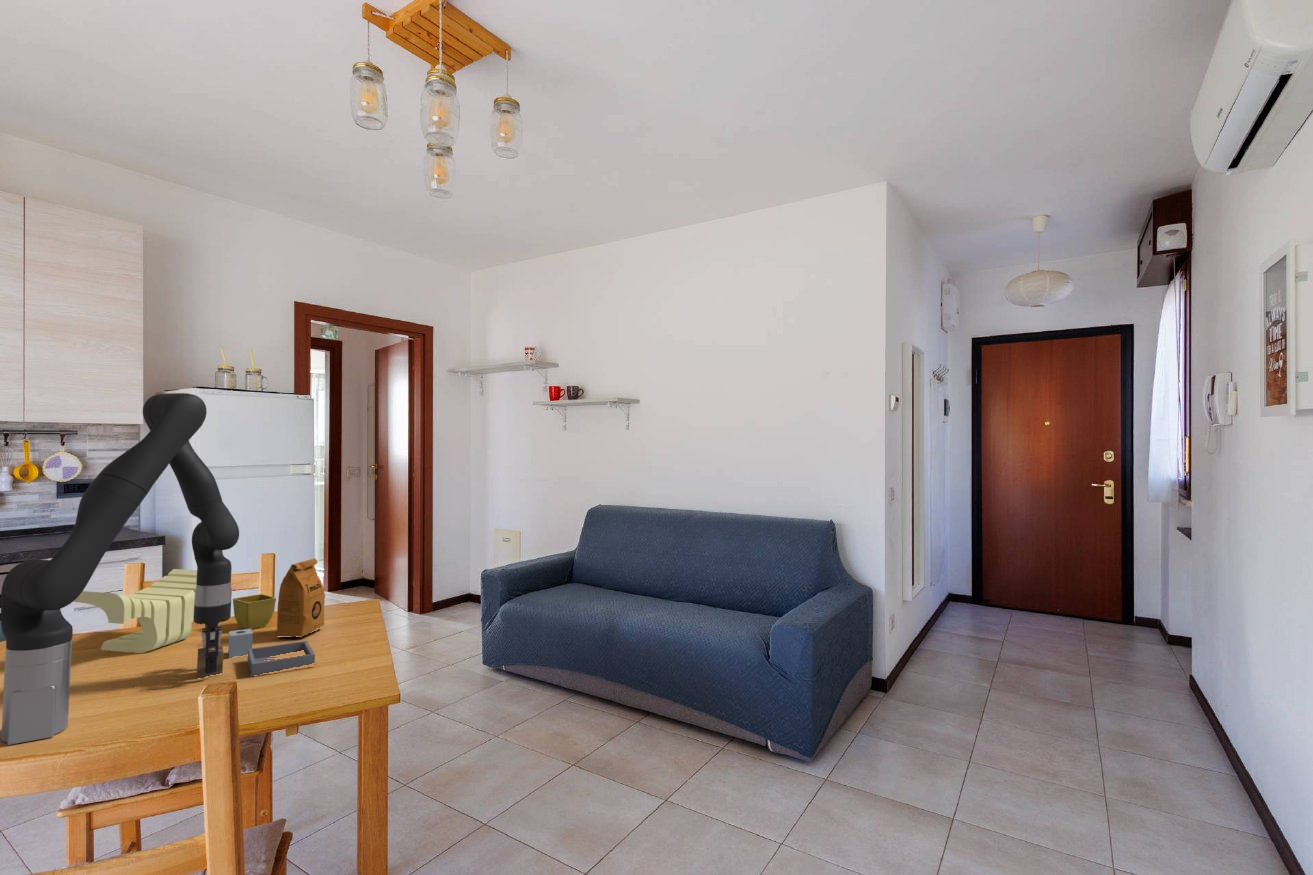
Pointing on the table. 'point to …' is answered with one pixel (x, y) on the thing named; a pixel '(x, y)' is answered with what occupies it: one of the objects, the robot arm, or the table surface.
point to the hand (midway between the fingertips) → (209, 667)
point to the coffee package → (300, 601)
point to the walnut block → (201, 662)
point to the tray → (262, 653)
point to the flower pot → (253, 610)
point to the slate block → (240, 642)
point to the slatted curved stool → (150, 612)
